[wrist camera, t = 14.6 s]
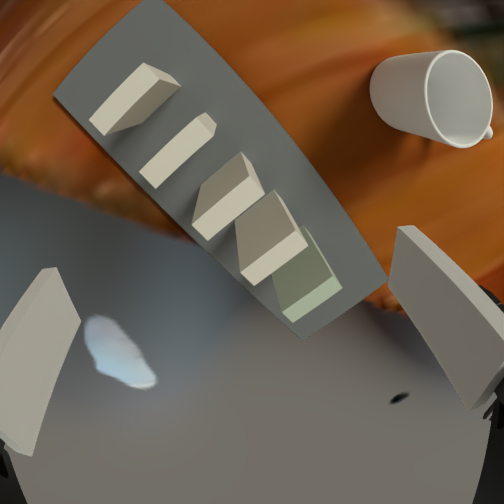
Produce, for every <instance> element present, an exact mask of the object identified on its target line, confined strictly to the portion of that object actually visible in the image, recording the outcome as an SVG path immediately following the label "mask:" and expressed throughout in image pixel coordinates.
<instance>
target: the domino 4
mask: <svg viewBox="0 0 504 504" xmlns="http://www.w3.org/2000/svg"><path fill="white" fill-rule="evenodd" d="M235 229H236V238H237V248H238V257H239V266H240V273H241V274H242V275H243V276H244V277H245V278H246V279H247V280H248V281H249V282H251V283H252V284H253V285H254V286H255V285H256V284H258V283H259V282H260V281H262V280H263V279H264V278H266V277H267V276H268V275H270V274H271V273H273V272H274V271H275V270H277V269H278V268H279V267H281V266H282V265H283V264H285V263H286V262H287V261H289V260H290V259H291V258H293V257H294V256H295V255H297V254H298V253H299V252H301V251H302V250H303V249H305V248H306V247H307V246H308V244H307V242H306V240H305V239H304V237H303V235H302V233H301V231H300V230H299V228H298V226H297V224H296V222H295V221H294V219H293V217H292V215H291V214H290V212H289V210H288V208H287V207H286V205H285V203H284V201H283V200H282V199H281V198H280V196H279V195H278V194H277V193H276V192H275V190H274V189H273V190H272V191H271V192H269V193H268V194H267V195H266V196H264V197H263V198H262V199H261V200H259V201H258V202H257V203H256V204H254V205H253V206H252V207H251V208H249V209H248V210H247V211H246V212H244V213H243V214H242V215H241V216H239V217H238V218H237V219H236V220H235Z"/></svg>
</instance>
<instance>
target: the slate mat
mask: <svg viewBox="0 0 504 504" xmlns="http://www.w3.org/2000/svg"><path fill="white" fill-rule="evenodd" d="M142 63H146V64H148V65H150V66H152V67H154V68H157V69H159V70H161V71H163V72H165V73H167V74H169V75H171V76H172V77H173V78H174V79H175V80H176V81H177V83H178V84H179V85H180V86H181V87H180V88H179V89H178V90H177V91H176V92H175V93H174V94H172V95H171V96H170V97H169V98H168V99H167V100H166V101H165V102H164V103H163V104H162V105H160V106H159V107H158V108H157V109H156V110H155V111H154V112H153V113H152V114H151V115H150V116H149V117H148V118H147V119H146V120H145V121H144V122H143V123H141V124H138V125H135V126H132V127H129V128H126V129H123V130H120V131H117V132H114V133H111V134H108V135H105V136H104V135H103V134H102V133H101V132H100V131H99V130H98V129H97V128H96V127H95V126H94V125H93V124H92V123H91V122H90V121H89V119H90V118H91V117H92V115H93V114H94V113H95V112H96V111H97V110H98V109H99V107H100V106H101V105H102V104H103V103H104V102H105V101H106V100H107V99H108V98H109V96H110V95H111V94H112V93H113V92H114V91H115V90H116V89H117V88H118V87H119V86H120V85H121V84H122V83H123V82H124V81H125V80H126V79H127V78H128V77H129V76H130V75H131V74H132V73H133V72H134V71H135V70H136V69H137V68H138V67H139V66H140V65H141V64H142ZM53 95H54V96H55V97H56V98H57V100H58V101H59V102H60V103H61V104H62V105H63V106H64V107H65V108H66V109H67V110H68V111H69V113H70V114H71V115H72V116H73V117H74V118H75V119H76V120H77V121H78V122H79V123H80V124H81V125H82V126H83V127H84V129H85V130H86V131H87V132H88V133H89V134H90V135H91V136H92V137H93V138H94V139H95V140H96V141H97V142H98V143H99V144H100V145H101V146H102V147H103V148H104V149H105V150H106V152H107V153H108V154H109V155H110V156H111V157H112V158H113V159H114V160H115V161H116V162H117V163H118V164H119V165H120V166H121V167H122V168H123V169H124V170H125V171H126V172H127V173H128V174H129V175H130V176H131V177H132V178H133V179H134V180H135V181H136V182H137V183H138V184H139V185H140V186H141V187H142V188H143V189H144V190H145V191H146V192H147V193H148V194H149V195H150V196H151V197H152V198H153V199H154V200H155V201H156V202H157V203H158V204H159V205H160V206H161V207H162V208H163V209H164V210H165V211H166V212H167V213H168V214H169V215H170V216H171V217H172V218H173V219H174V220H175V221H176V222H177V223H178V224H179V225H180V226H181V227H182V228H183V229H184V230H185V231H186V232H187V233H188V234H189V235H190V236H191V237H192V238H193V239H194V240H195V241H196V242H197V243H198V244H199V245H200V246H201V247H202V248H204V249H205V250H206V251H207V252H208V253H209V254H210V255H211V256H212V257H213V258H214V259H215V260H216V261H217V262H218V263H219V264H220V265H221V266H223V268H224V269H225V270H227V271H228V272H229V273H230V274H231V275H232V276H233V277H234V278H235V279H236V280H237V281H238V282H239V283H240V284H241V285H242V286H243V287H244V288H246V289H247V290H248V291H249V292H250V293H251V294H252V295H253V296H254V297H255V298H256V299H257V300H258V301H259V302H261V303H262V304H263V305H264V306H265V307H266V308H267V309H268V310H269V311H270V312H271V313H273V315H275V316H276V317H277V318H278V319H279V320H280V321H281V322H282V323H283V324H284V325H286V326H287V327H288V328H289V329H290V330H291V331H292V332H293V333H294V334H295V335H296V336H298V337H299V338H300V339H301V340H304V339H305V338H307V337H308V336H310V335H311V334H313V333H315V332H316V331H318V330H319V329H320V328H322V327H324V326H325V325H327V324H328V323H330V322H331V321H332V320H334V319H335V318H337V317H338V316H340V315H341V314H342V313H344V312H346V311H347V310H348V309H350V308H351V307H352V306H354V305H355V304H357V303H358V302H360V301H361V300H362V299H364V298H365V297H366V296H368V295H369V294H371V293H372V292H373V291H375V290H376V289H377V288H379V287H380V286H381V285H383V284H384V283H385V282H387V281H388V280H389V279H388V277H387V276H386V274H385V272H384V271H383V269H382V267H381V266H380V264H379V262H378V261H377V259H376V258H375V256H374V254H373V253H372V251H371V250H370V248H369V246H368V245H367V243H366V242H365V240H364V239H363V237H362V236H361V234H360V233H359V231H358V230H357V228H356V227H355V225H354V224H353V222H352V221H351V219H350V218H349V216H348V215H347V213H346V212H345V210H344V209H343V207H342V206H341V204H340V203H339V202H338V200H337V199H336V197H335V196H334V194H333V193H332V192H331V190H330V189H329V187H328V186H327V185H326V183H325V182H324V181H323V179H322V178H321V176H320V175H319V174H318V172H317V171H316V170H315V168H314V167H313V166H312V164H311V163H310V162H309V160H308V159H307V158H306V156H305V155H304V154H303V153H302V151H301V150H300V149H299V147H298V146H297V145H296V144H295V142H294V141H293V140H292V138H291V137H290V136H289V135H288V133H287V132H286V131H285V130H284V128H283V127H282V126H281V125H280V124H279V122H278V121H277V120H276V119H275V117H274V116H273V115H272V114H271V113H270V111H269V110H268V109H267V108H266V107H265V105H264V104H263V103H262V102H261V101H260V100H259V98H258V97H257V96H256V95H255V94H254V93H253V92H252V90H251V89H250V88H249V87H248V86H247V85H246V84H245V83H244V81H243V80H242V79H241V78H240V77H239V76H238V75H237V74H236V73H235V71H234V70H233V69H232V68H231V67H230V66H229V65H228V64H227V63H226V62H225V61H224V60H223V59H222V58H221V56H220V55H219V54H218V53H217V52H216V51H215V50H214V49H213V48H212V47H211V46H210V45H209V44H208V43H207V42H206V41H205V40H204V39H203V38H202V37H201V36H200V35H199V34H198V33H197V32H196V31H195V30H194V29H193V28H192V27H191V26H190V25H189V24H188V23H187V22H186V21H185V20H184V19H182V18H181V17H180V16H179V15H178V14H177V13H176V12H175V11H174V10H173V9H172V8H171V7H170V6H168V5H167V4H166V3H165V2H164V1H163V0H143V1H142V2H141V3H139V4H138V5H137V6H136V7H135V8H134V9H132V10H131V11H130V12H129V13H128V14H127V15H126V16H124V17H123V18H122V19H121V20H120V21H119V22H118V23H117V24H116V25H115V26H114V27H113V28H112V29H110V30H109V31H108V32H107V33H106V34H105V35H104V36H103V37H102V38H101V39H100V40H99V41H98V42H97V43H96V44H95V45H94V46H93V48H92V49H91V50H90V51H89V52H88V53H87V54H86V55H85V56H84V57H83V58H82V59H81V61H80V62H79V63H78V64H77V65H76V66H75V67H74V69H73V70H72V71H71V72H70V73H69V74H68V76H67V77H66V78H65V79H64V81H63V82H62V83H61V84H60V85H59V87H58V88H57V89H56V91H55V92H54V93H53ZM205 112H206V113H207V114H208V115H209V117H210V118H211V119H212V120H213V121H214V122H215V123H216V124H217V126H216V129H215V133H214V136H213V137H212V138H211V139H210V140H208V141H207V142H206V143H205V144H204V145H203V146H202V147H200V148H199V149H198V150H197V151H196V152H195V153H194V154H192V155H191V156H190V157H189V158H188V159H187V160H186V161H185V162H184V163H183V164H181V165H180V166H179V167H178V168H177V169H176V170H175V171H174V172H173V173H172V174H171V175H170V176H169V177H168V178H166V179H165V180H164V181H163V182H162V183H161V184H160V185H159V186H158V187H157V188H156V189H155V188H154V187H153V186H152V185H151V184H150V183H149V182H148V181H147V180H146V179H145V178H144V177H143V176H142V174H141V173H140V172H139V171H140V170H141V169H142V168H143V167H144V166H145V165H146V164H147V163H148V162H149V161H150V160H151V159H152V158H153V157H154V156H155V155H156V154H157V153H158V152H159V151H160V150H161V149H162V148H163V147H164V146H165V145H166V144H167V143H168V142H170V141H171V140H172V139H173V138H174V137H175V136H176V135H177V134H178V133H179V132H180V131H181V130H183V129H184V128H185V127H186V126H187V125H188V124H189V123H190V122H191V121H193V120H194V119H195V118H196V117H198V116H199V115H201V114H203V113H205ZM240 151H241V152H242V153H243V154H244V156H245V157H246V158H247V159H248V160H249V161H250V162H251V164H252V166H253V168H254V170H255V172H256V175H257V177H258V179H259V181H260V184H261V186H262V188H263V191H264V193H265V195H263V196H262V197H261V198H260V199H258V200H257V201H256V202H255V203H253V204H252V205H251V206H250V207H248V208H247V209H246V210H245V211H243V212H242V213H241V214H240V215H239V216H241V215H242V214H243V213H244V212H246V211H247V210H248V209H249V208H251V207H252V206H253V205H254V204H256V203H257V202H258V201H259V200H261V199H262V198H263V197H264V196H266V195H267V194H268V193H269V192H271V191H272V190H273V189H274V190H275V192H276V193H277V194H278V195H279V196H280V198H281V199H282V200H283V201H284V203H285V205H286V207H287V208H288V210H289V212H290V214H291V215H292V217H293V219H294V221H295V222H296V224H297V226H298V228H300V227H301V226H302V225H303V226H304V227H305V228H306V229H307V231H308V232H309V233H310V234H311V236H312V237H313V239H314V241H315V242H316V244H317V246H318V247H319V249H320V251H321V252H322V254H323V256H324V257H325V259H326V261H327V262H328V264H329V266H330V267H331V269H332V271H333V273H334V274H335V276H336V278H337V279H338V281H339V283H340V285H341V286H342V289H341V290H339V291H338V292H337V293H335V294H334V295H332V296H331V297H330V298H328V299H327V300H325V301H324V302H323V303H321V304H320V305H318V306H317V307H315V308H314V309H312V310H311V311H310V312H308V313H307V314H305V315H304V316H302V317H301V318H299V319H298V320H296V321H295V322H293V323H292V322H291V321H290V320H289V319H288V318H287V317H286V316H285V315H284V314H283V313H282V312H281V308H280V304H279V301H278V297H277V293H276V289H275V286H274V282H273V278H272V275H271V274H270V275H268V276H267V277H266V278H264V279H263V280H262V281H260V282H259V283H258V284H256V285H255V286H254V285H253V284H252V283H251V282H249V281H248V280H247V279H246V278H245V277H244V276H243V275H242V274H241V273H240V266H239V257H238V248H237V238H236V229H235V220H236V219H237V218H238V217H239V216H237V217H236V218H235V219H234V220H232V221H231V222H230V223H229V224H227V225H226V226H225V227H224V228H223V229H221V230H220V231H219V232H218V233H217V234H215V235H214V236H213V237H212V238H211V239H209V240H208V241H207V240H206V239H205V238H204V237H203V236H202V235H201V234H200V233H199V232H198V231H197V230H196V229H195V228H194V227H193V226H192V225H191V224H192V220H193V216H194V211H195V207H196V203H197V199H198V195H199V191H200V187H201V184H202V183H204V182H205V181H206V180H207V179H208V178H209V177H210V176H212V175H213V174H214V173H215V172H216V171H217V170H219V169H220V168H221V167H222V166H223V165H225V164H226V163H227V162H228V161H229V160H231V159H232V158H233V157H234V156H235V155H237V154H238V153H239V152H240Z"/></svg>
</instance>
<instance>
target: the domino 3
mask: <svg viewBox="0 0 504 504" xmlns="http://www.w3.org/2000/svg"><path fill="white" fill-rule="evenodd" d="M263 195H265V193H264V191H263V188H262V186H261V184H260V181H259V179H258V177H257V175H256V172H255V170H254V168H253V166H252V164H251V162H250V161H249V160H248V159H247V158H246V157H245V156H244V154H243V153H242V152H241V151H240V152H239V153H238V154H237V155H235V156H234V157H233V158H232V159H231V160H229V161H228V162H227V163H226V164H225V165H223V166H222V167H221V168H220V169H219V170H217V171H216V172H215V173H214V174H213V175H212V176H210V177H209V178H208V179H207V180H206V181H205V182H204V183H202V184H201V187H200V191H199V195H198V199H197V203H196V207H195V211H194V216H193V220H192V224H191V225H192V226H193V227H194V228H195V229H196V230H197V231H198V232H199V233H200V234H201V235H202V236H203V237H204V238H205V239H206V240H207V241H208V240H209V239H211V238H212V237H213V236H214V235H215V234H217V233H218V232H219V231H220V230H221V229H223V228H224V227H225V226H226V225H227V224H229V223H230V222H231V221H232V220H234V219H235V218H236V217H237V216H239V215H240V214H241V213H242V212H243V211H245V210H246V209H247V208H248V207H250V206H251V205H252V204H253V203H255V202H256V201H257V200H258V199H260V198H261V197H262V196H263Z"/></svg>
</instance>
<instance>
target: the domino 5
mask: <svg viewBox="0 0 504 504" xmlns="http://www.w3.org/2000/svg"><path fill="white" fill-rule="evenodd" d="M299 230H300V231H301V233H302V235H303V237H304V239H305V240H306V242H307V244H308V246H307V247H306V248H305V249H303V250H302V251H301V252H299V253H298V254H297V255H295V256H294V257H293V258H291V259H290V260H289V261H287V262H286V263H285V264H283V265H282V266H281V267H279V268H278V269H277V270H275V271H274V272H273V273H271V275H272V278H273V282H274V286H275V289H276V293H277V297H278V301H279V304H280V308H281V312H282V313H283V314H284V315H285V316H286V317H287V318H288V319H289V320H290V321H291V322H292V323H293V322H295V321H296V320H298V319H299V318H301V317H302V316H304V315H305V314H307V313H308V312H310V311H311V310H312V309H314V308H315V307H317V306H318V305H320V304H321V303H323V302H324V301H325V300H327V299H328V298H330V297H331V296H332V295H334V294H335V293H337V292H338V291H339V290H341V289H342V286H341V285H340V283H339V281H338V279H337V278H336V276H335V274H334V273H333V271H332V269H331V267H330V266H329V264H328V262H327V261H326V259H325V257H324V256H323V254H322V252H321V251H320V249H319V247H318V246H317V244H316V242H315V241H314V239H313V237H312V236H311V234H310V233H309V232H308V231H307V229H306V228H305V227H304V226H303V225H302V226H301V227H300V228H299Z"/></svg>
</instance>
